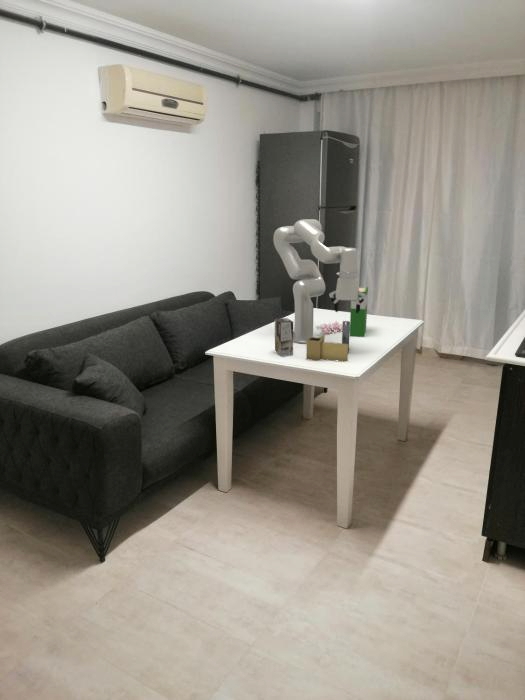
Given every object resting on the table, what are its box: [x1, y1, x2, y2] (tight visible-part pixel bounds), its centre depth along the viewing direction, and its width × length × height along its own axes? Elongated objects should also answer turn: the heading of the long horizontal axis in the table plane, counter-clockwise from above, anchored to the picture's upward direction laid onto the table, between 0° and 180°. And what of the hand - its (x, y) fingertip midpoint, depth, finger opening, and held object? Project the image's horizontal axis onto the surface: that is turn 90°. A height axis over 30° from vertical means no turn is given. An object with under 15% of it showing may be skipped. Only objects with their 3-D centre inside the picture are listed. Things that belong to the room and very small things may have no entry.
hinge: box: [306, 333, 349, 362], centre depth 254 cm, size 18×18×9 cm
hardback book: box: [349, 286, 369, 338], centre depth 295 cm, size 18×7×24 cm, turn 166°
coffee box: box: [274, 317, 294, 357], centre depth 258 cm, size 9×6×16 cm
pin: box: [341, 320, 350, 354], centre depth 259 cm, size 3×3×15 cm
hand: (347, 312), depth 255 cm, fingers open, 9 cm apart
